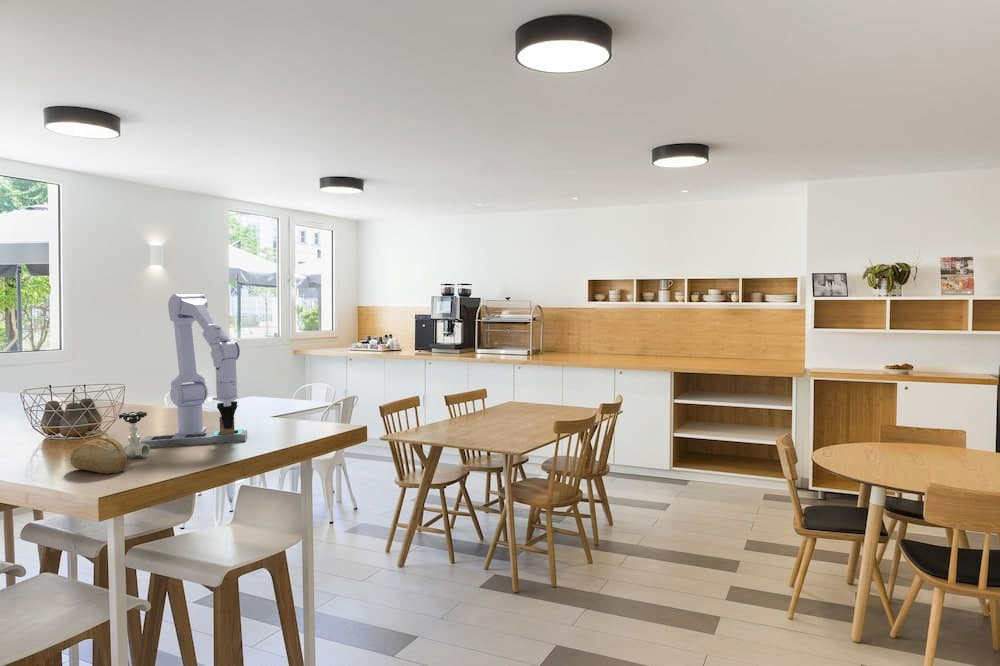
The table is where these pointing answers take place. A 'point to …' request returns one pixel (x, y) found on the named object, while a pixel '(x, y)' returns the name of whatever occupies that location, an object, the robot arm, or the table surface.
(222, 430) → the walnut block
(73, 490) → the table surface
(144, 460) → the table surface
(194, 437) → the grey slotted board
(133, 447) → the valve
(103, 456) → the bread roll
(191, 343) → the robot arm
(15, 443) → the table surface
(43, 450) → the table surface
